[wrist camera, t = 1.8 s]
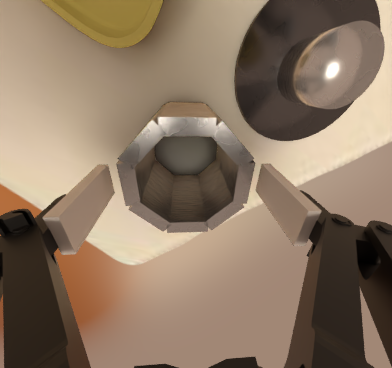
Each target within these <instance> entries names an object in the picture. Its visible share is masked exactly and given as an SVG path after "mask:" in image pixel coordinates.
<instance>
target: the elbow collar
mask: <svg viewBox="0 0 392 368" xmlns="http://www.w3.org/2000/svg"><path fill="white" fill-rule="evenodd" d="M163 136H203V137H212V138H213V139H214V140H215V141H216V142H217V153H216V160H215V161H214V162H212V163H211V164H210V165H209V166H208V167H207V168H205V169H204V170H203V171H202V172H201V173H200V174H199V175H173V174H172V173H171V172H170V171H169V170H167V169H166V168H165V167H164V166H163V165H161V164H160V163H159V162H158V161H157V160H156V159H155V149H154V146H155V145H156V144H157V143H158V142H159V141H160V140H161V139H162V138H163ZM118 159H119V161H118V162H117V169H118V173H119V178H120V182H121V186H122V191H123V195H124V200H125V204H126V206H130V207H129V210H130V211H132V212H133V213H135V214H137V215H138V216H140V217H141V218H143V219H144V220H146V221H147V222H149V223H151V224H152V225H154V226H155V227H157V228H158V229H160V230H161V231H164V230H166V229H167V233H174V232H206V231H208V228H210V229H211V230H213V229H214V228H215V227H217V226H218V225H220V224H221V223H223V222H224V221H225V220H227V219H228V218H230V217H231V216H232V215H234V214H235V213H237V212H238V211H239V210H241V209H242V208H244V206H243V203H247V200H248V195H249V190H250V186H251V181H252V176H253V171H254V167H255V162H254V161H253V159H254V158H253V156H252V155H251V154H250V153H249V152H248V150H247V149H246V148H245V147H244V146H243V145H242V143H241V142H240V141H239V140H238V139H237V137H236V136H235V135H234V134H233V133H232V131H231V130H230V129H229V128H228V127H227V125H226V124H225V123H224V122H223V121H222V120H221V119H220V118H219V117H218V116H217V115H216V114H215V113H214V112H213V110H212V109H211V108H210V107H209V106H208V105H207V104H206V105H205V104H204V103H199V102H168V103H167V105H166V104H164V105H163V106H162V107H161V108H160V110H159V111H158V112H157V113H156V114H155V115H154V116H153V118H152V119H151V120H150V121H149V122H148V123H147V124H146V126H145V127H144V128H143V129H142V130H141V131H140V133H139V134H138V135H137V136H136V137H135V139H134V140H133V141H132V142H131V143H130V145H129V146H128V147H127V148H126V149H125V150H124V152H123V153H122V154H121V155H120V156H119V158H118Z"/></svg>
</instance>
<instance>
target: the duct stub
mask: <svg viewBox="0 0 392 368" xmlns="http://www.w3.org/2000/svg"><path fill="white" fill-rule="evenodd" d="M383 56H384V38H383V35H382V33H381V31H380V16H379V11H378V7H377V4H376V1H375V0H269V1H268V2H267V3H266V5H265V6H264V7H263V8H262V10H261V11H260V12H259V13H258V15H257V16H256V18H255V19H254V21H253V22H252V24H251V26H250V28H249V30H248V32H247V33H246V35H245V38H244V40H243V43H242V45H241V48H240V52H239V55H238V59H237V64H236V70H235V92H236V98H237V102H238V105H239V108H240V111H241V113H242V115H243V117H244V118H245V120H246V121H247V122H248V124H249V125H250V126H251V127H252V128H253V129H254V130H256V131H257V132H258V133H260V134H262V135H263V136H265V137H268V138H270V139H274V140H279V141H293V140H298V139H302V138H306V137H309V136H311V135H313V134H316V133H318V132H319V131H321V130H323V129H325V128H326V127H327V126H329V125H330V124H332V123H333V122H334V121H335V120H337V119H338V118H339V117H340V116H341V115H342V114H343V113H344V112H345V111H346V110H347V109H348V108H349V107H350V105H351V104H352V103H353V102H354V100H356V99H357V98H358V97H359V96H360V95H361V94H362V93H364V92H365V90H366V89H367V88H368V87H369V86H370V84H371V83H372V82H373V80H374V78H375V77H376V75H377V73H378V71H379V69H380V66H381V63H382V60H383Z"/></svg>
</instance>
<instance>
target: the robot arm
mask: <svg viewBox="0 0 392 368" xmlns="http://www.w3.org/2000/svg"><path fill="white" fill-rule="evenodd" d="M256 192H257V193H258V195H259V196H260V198H261V199H262V200H263V202H264V203H265V205H266V206H267V208H268V209H269V211H270V212H271V214H272V215H273V216H274V218H275V219H276V221H277V222H278V224H279V225H280V227H281V228H282V230H283V231H284V233H285V234H286V235H287V237H288V238H289V240H290V241H291V243H292V244H293V246H305V245H306V243H307V241H308V239H310V240H311V242H312V243H313V244H312V246H311V248H310V250H309V252H308V254H307V256H308V257H309V258H308V263H307V268H306V273H305V278H304V282H303V287H302V292H301V297H300V301H299V306H298V311H297V315H296V320H295V326H294V330H293V335H292V339H291V344H290V349H289V354H288V358H287V361H286V364H285V367H284V368H374V367H373V366H371V365H370V364H368V363H367V361H366V359H365V352H364V339H363V327H362V313H361V300H360V288H361V291H362V293H363V296H364V298H365V301H366V303H367V306H368V308H369V310H370V313H371V316H372V318H373V321H374V323H375V326H376V328H377V331H378V333H379V336H380V338H381V341H382V343H383V346H384V348H385V351H386V353H387V356H388V358H389V361H390V363H391V366H392V226H391V225H389V224H387V223H384V222H380V221H370V222H369V223H368V225H367V227H363V226H358V225H354V223H353V222H352V221H351V220H349V219H347V218H346V217H343V216H341V215H337V214H330V213H329V212H328V211H327V210H326V209H325V208H323V207H322V206H321V205H320V204H319V203H317V201H315V200H314V199H313V198H312V197H311V196H310V195H309V194H307V193H305V192H303V191H301V190H298V189H297V188H296V187H295V186H294V185H293V184H292V183H291V182H289V181H288V180H287V179H286V178H285V177H284V176H283V175H282V174H281V173H280V172H278V171H277V170H276V169H275V168H274V167H273V166H272V165H271V164H262V165H261V169H260V174H259V178H258V183H257V187H256ZM114 193H115V192H114V188H113V184H112V180H111V176H110V171H109V167H108V165H97V166H96V167H95V168H94V169H93V170H92V171H91V172H90V173H89V174H88V175H87V176H86V177H85V178H84V179H83V180H81V181H80V182H79V183H78V184H77V185H76V186H75V187H74V188H73V189H72V190H71V191H70V192H69V193H68V194H64V195H62V196H61V197H59V198H57V199H56V200H54V201H53V202H52V203H51V205H49V206H48V207H47V208H46V209H44V210H43V211H42V212H41V213H40V214H39V215H38V216H37V217H36V218H34V217H33V215H32V214H31V212H30V211H29V210H28V209H18V210H14V211H11V212H8V213H5V214H3V215H1V216H0V234H1V236H0V300H1V297H2V294H3V312H4V313H3V315H4V368H91V367H90V364H89V360H88V357H87V354H86V351H85V348H84V344H83V342H82V338H81V335H80V332H79V329H78V325H77V322H76V319H75V316H74V313H73V310H72V307H71V303H70V301H69V297H68V294H67V291H66V288H65V285H64V281H63V278H62V275H61V272H60V269H59V266H58V262H57V259H56V257H55V255H54V252H55V251H56V250H57V248H59V250H60V252H61V254H62V255H66V254H76V253H77V251H78V250H79V248H80V247H81V245H82V244H83V242H84V240H85V239H86V237H87V236H88V234H89V232H90V231H91V229H92V228H93V226H94V225H95V223H96V221H97V220H98V218H99V217H100V215H101V214H102V212H103V210H104V209H105V207H106V206H107V204H108V202H109V201H110V199H111V198H112V196H113V195H114ZM359 286H360V288H359ZM134 368H177V367H174V366H171V365H167V364H157V365H145V366H135V367H134ZM209 368H262V367H259V366H258V365H257V361H256V358H255V357H246V358H233V359H226V360H224V361H221V362H219V363H218V364H215V365H213V366H211V367H209Z"/></svg>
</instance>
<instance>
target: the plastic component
mask: <svg viewBox="0 0 392 368" xmlns="http://www.w3.org/2000/svg"><path fill="white" fill-rule="evenodd" d="M41 1H42V2H43V3H44V4H46V5H47V6H48V7H50V8H51V9H52V10H53V11H55V12H56V13H57V14H58V15H60V16H61V17H62V18H63V19H65V20H66V21H67V22H68V23H70V24H71V25H73V26H74V27H75V28H77V29H78V30H79V31H81V32H82V33H84V34H85V35H87V36H88V37H90V38H91V39H93V40H95V41H97V42H99V43H101V44H104V45H107V46H110V47H115V48H126V47H129V46H133V45H135V44H136V43H138V42H140V41H141V40H142V39H144V38H145V37H146V36H147V35H148V33H149V32H150V31H151V29H152V27H153V25H154V23H155V21H156V19H157V16H158V14H159V11H160V9H161V6H162V3H163V0H41Z"/></svg>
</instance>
